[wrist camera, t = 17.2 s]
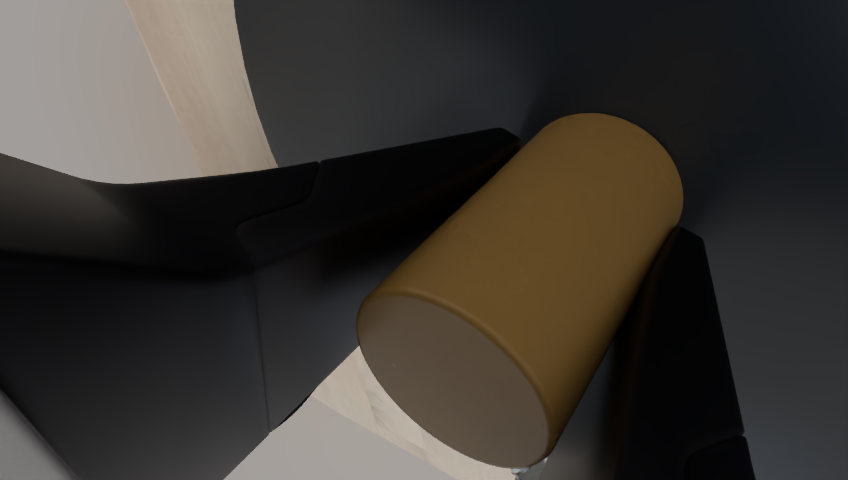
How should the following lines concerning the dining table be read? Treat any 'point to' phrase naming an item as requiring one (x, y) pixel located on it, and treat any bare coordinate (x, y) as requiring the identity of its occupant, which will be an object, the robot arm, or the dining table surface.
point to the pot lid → (589, 197)
